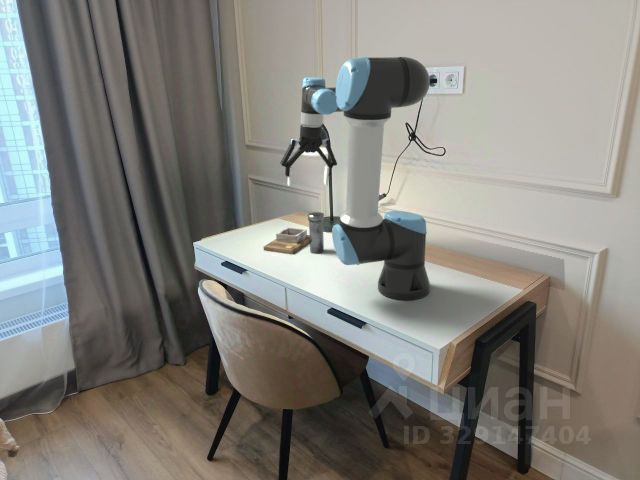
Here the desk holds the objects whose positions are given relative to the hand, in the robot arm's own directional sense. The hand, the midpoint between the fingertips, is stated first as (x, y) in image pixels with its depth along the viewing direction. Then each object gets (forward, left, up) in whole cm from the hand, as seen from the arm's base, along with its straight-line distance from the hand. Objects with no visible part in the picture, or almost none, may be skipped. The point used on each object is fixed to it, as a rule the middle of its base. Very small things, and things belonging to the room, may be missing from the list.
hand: (307, 184), depth 173 cm
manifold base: (-1, +8, -24) cm, 25 cm away
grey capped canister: (-4, -5, -24) cm, 24 cm away
